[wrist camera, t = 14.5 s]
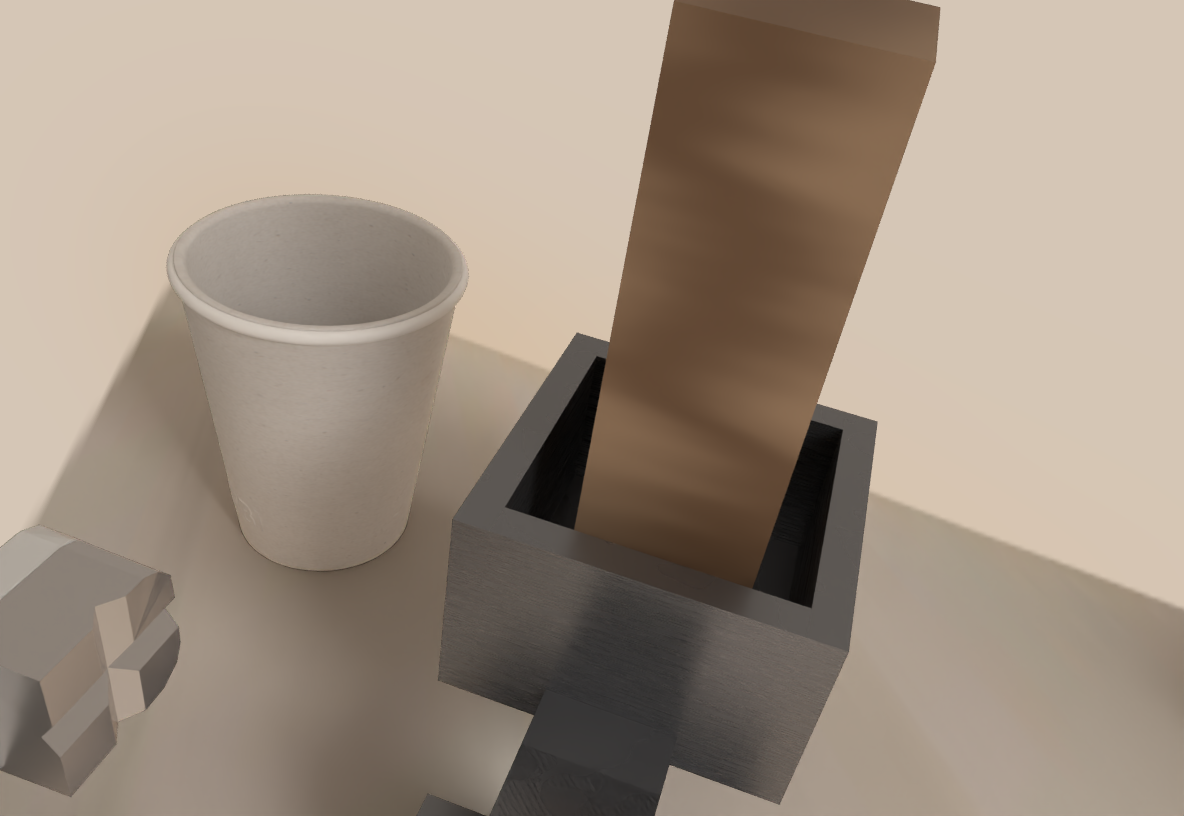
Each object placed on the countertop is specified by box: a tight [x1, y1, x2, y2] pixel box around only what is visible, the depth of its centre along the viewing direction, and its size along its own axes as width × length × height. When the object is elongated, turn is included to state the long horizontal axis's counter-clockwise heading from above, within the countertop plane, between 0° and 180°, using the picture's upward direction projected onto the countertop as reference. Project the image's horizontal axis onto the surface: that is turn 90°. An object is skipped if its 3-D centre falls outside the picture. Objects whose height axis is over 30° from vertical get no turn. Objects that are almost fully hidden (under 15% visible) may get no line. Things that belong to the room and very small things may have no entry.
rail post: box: [574, 0, 940, 589], centre depth 20 cm, size 4×4×14 cm
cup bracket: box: [417, 333, 877, 816], centre depth 23 cm, size 8×14×10 cm, turn 162°
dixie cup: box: [167, 194, 469, 571], centre depth 31 cm, size 8×8×10 cm
